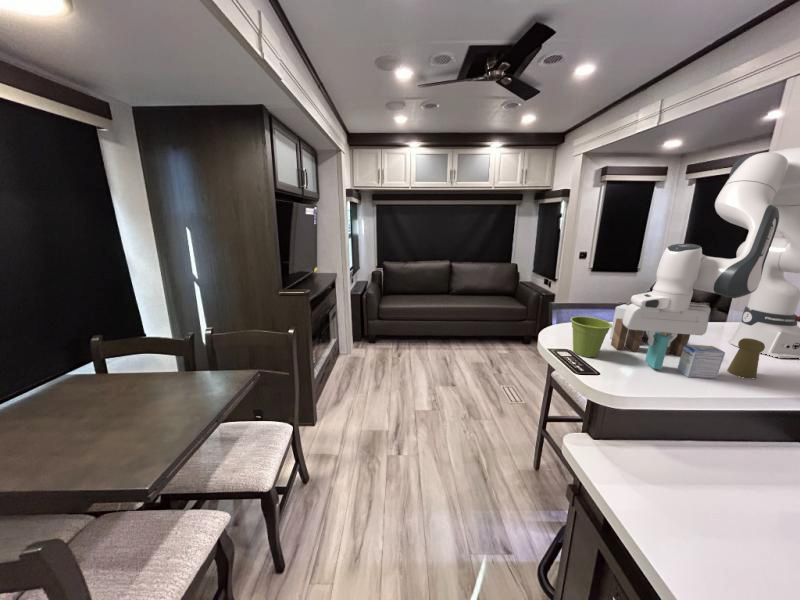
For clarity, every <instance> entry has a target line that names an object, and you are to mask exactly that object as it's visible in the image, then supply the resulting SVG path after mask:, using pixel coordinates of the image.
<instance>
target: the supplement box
mask: <svg viewBox="0 0 800 600" xmlns="http://www.w3.org/2000/svg"><path fill="white" fill-rule="evenodd" d="M629 305H630V304H625V303H623V304H621V305H617V306H615V310H614V315H613V320H612V323H611V324H612V327H611V328H610V329H611V330H610V335H609V339H611V340H612V337H613V332H614V328H615V323H616V319H617V318H618V319H623V318H624V314H625V311H626V309H627V307H628V306H629ZM628 330H629V329H628ZM627 334H628V332H627ZM626 339H627V337H626ZM625 343H626V341H625Z"/></svg>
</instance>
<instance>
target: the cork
mask: <svg viewBox="0 0 800 600" xmlns="http://www.w3.org/2000/svg"><path fill="white" fill-rule="evenodd" d="M738 346H739V347H738V350H737V352H736V354H735V355H734V358H733V359H732V361H731V363H730V364H729V366H728V368H727V370H726V371H727V372H728V373H729V374H731V375H733V376H736V377H739V376H740V377H739V378H742V377H744V378H743V379H747V378H757V374H758V368H759V360H760V354H761V353H760V352H762V351H763V350H764V348H765V345H764V343H763V342H761V341H758V340H755V339H749V338H743V339H741V340H740V341H739V343H738Z"/></svg>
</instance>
